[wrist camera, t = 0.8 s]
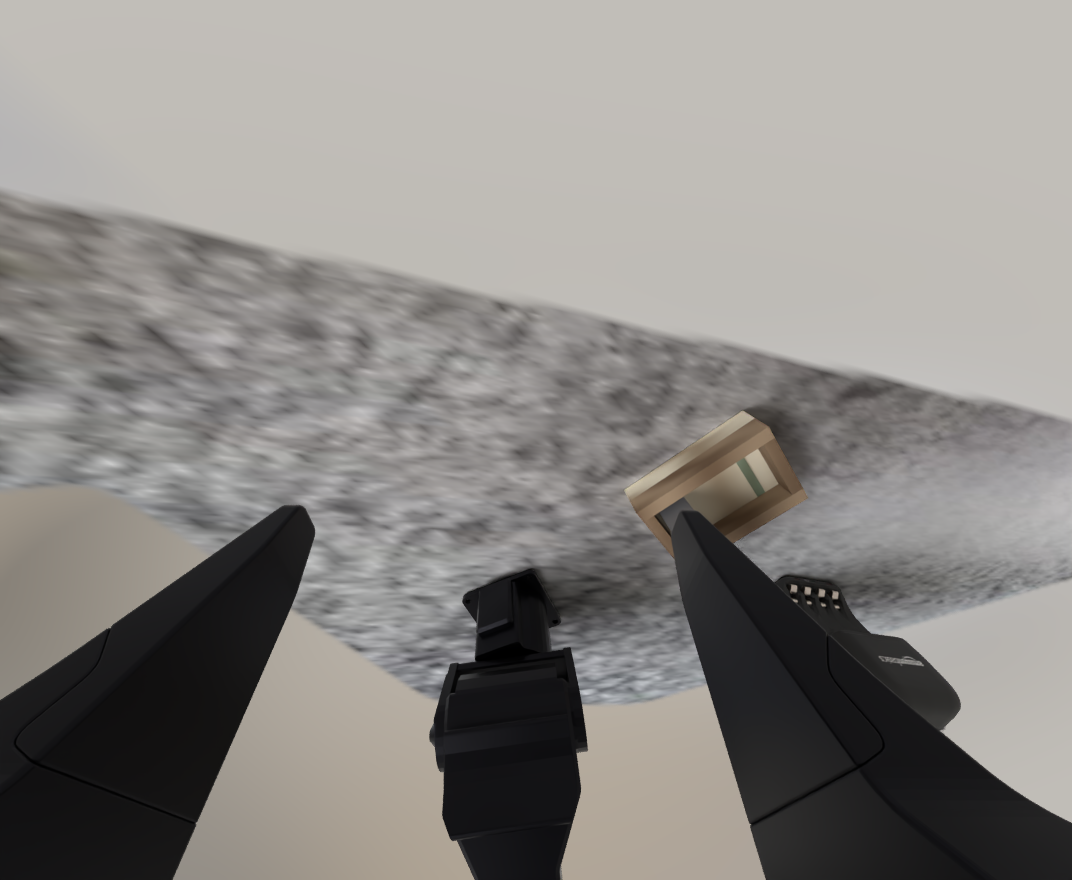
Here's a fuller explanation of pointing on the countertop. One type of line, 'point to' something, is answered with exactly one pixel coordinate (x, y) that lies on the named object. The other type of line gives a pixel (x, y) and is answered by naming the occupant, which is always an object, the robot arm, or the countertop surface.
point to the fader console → (722, 481)
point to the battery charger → (877, 651)
